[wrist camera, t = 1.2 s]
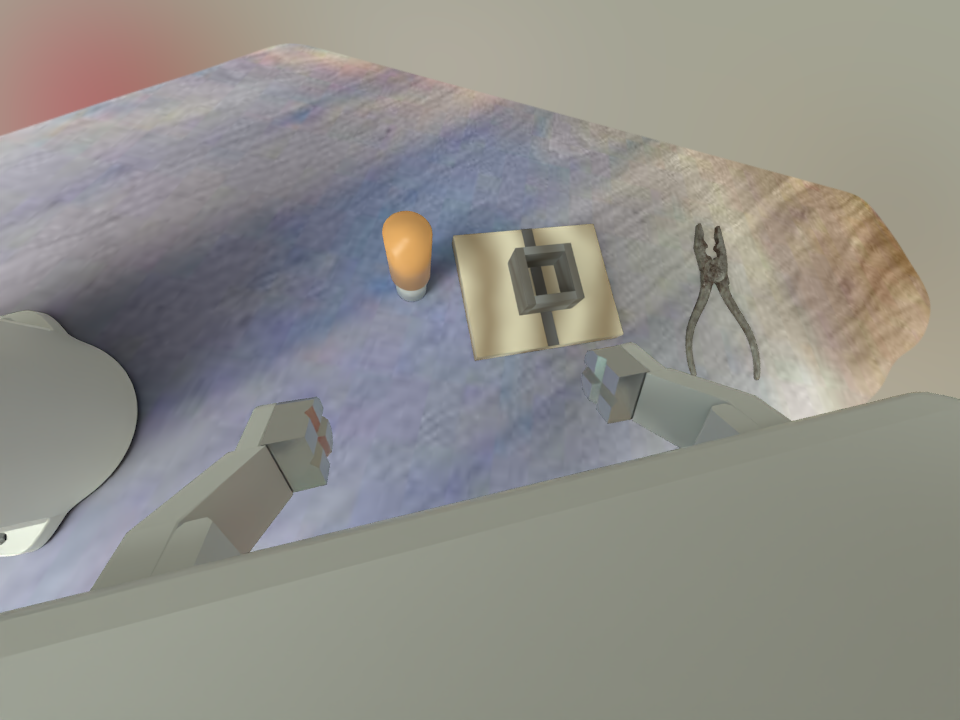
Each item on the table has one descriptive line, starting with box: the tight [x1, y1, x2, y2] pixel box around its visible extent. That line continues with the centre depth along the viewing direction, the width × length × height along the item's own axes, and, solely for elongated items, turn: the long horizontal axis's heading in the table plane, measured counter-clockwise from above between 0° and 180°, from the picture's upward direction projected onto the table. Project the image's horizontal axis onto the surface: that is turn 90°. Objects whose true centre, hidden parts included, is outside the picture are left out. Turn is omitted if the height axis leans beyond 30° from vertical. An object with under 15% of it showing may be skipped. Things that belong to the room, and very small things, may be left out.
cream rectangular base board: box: [452, 224, 623, 361], centre depth 34 cm, size 16×13×4 cm
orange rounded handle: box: [382, 211, 432, 302], centre depth 30 cm, size 4×4×10 cm
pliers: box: [686, 223, 760, 380], centre depth 40 cm, size 10×1×20 cm
